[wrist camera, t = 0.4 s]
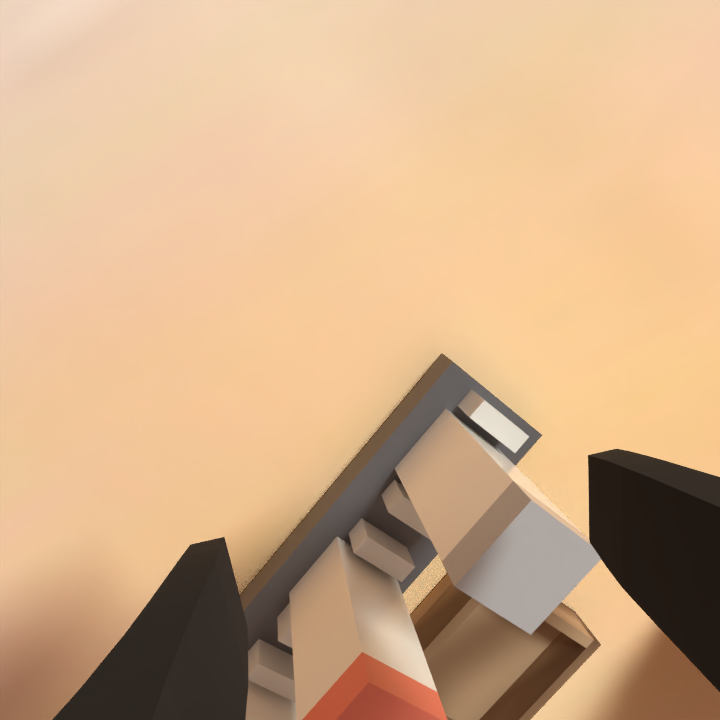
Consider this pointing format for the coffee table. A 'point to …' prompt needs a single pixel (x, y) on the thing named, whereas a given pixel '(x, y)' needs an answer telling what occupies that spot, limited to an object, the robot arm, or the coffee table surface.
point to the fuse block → (371, 512)
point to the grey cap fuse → (493, 524)
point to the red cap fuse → (357, 645)
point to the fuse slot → (268, 705)
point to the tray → (496, 655)
